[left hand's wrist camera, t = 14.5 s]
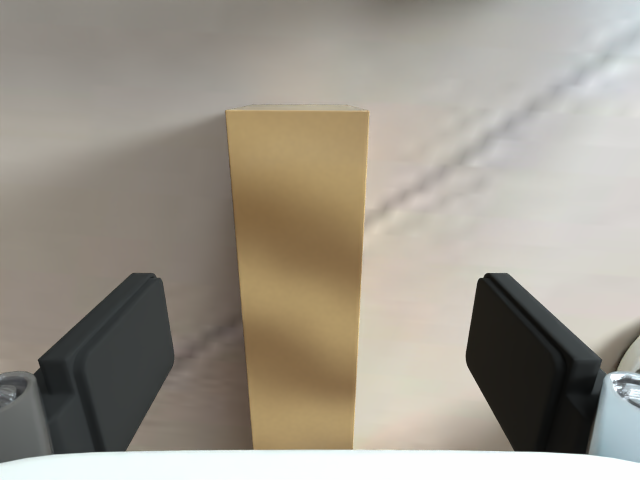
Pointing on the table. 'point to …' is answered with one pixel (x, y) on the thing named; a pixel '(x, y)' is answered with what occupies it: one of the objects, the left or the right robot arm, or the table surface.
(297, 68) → the table surface
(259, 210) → the bar
